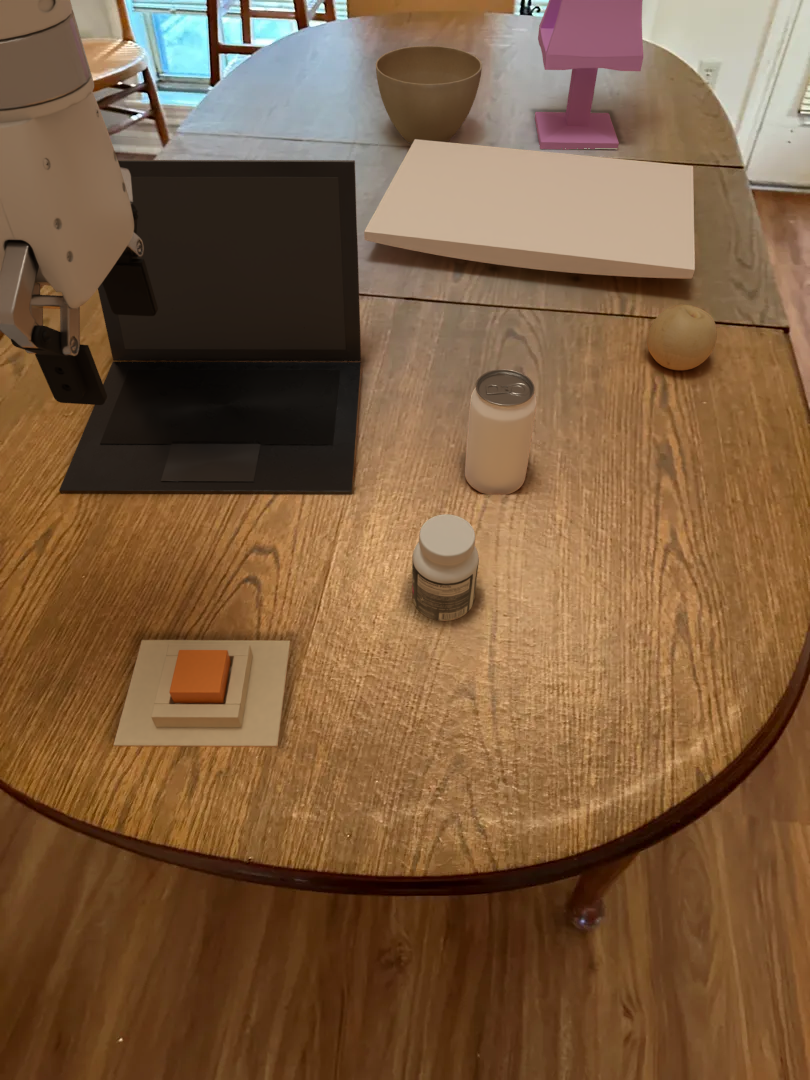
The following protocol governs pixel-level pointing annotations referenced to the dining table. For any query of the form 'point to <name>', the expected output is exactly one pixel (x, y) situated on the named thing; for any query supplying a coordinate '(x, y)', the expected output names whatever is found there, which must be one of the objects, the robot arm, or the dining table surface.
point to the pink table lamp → (586, 65)
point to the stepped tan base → (230, 724)
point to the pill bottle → (445, 568)
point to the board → (540, 210)
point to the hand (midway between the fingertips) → (111, 354)
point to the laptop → (221, 430)
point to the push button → (200, 676)
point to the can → (499, 432)
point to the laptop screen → (244, 262)
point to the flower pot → (428, 90)
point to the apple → (682, 337)
